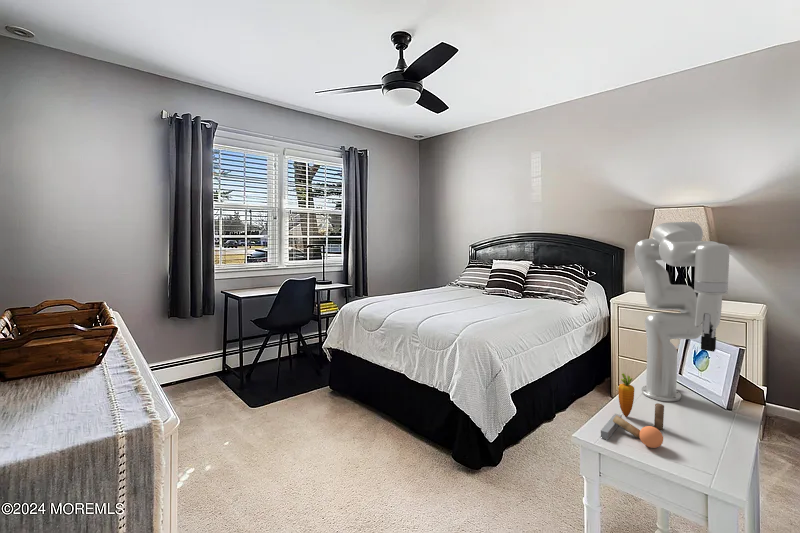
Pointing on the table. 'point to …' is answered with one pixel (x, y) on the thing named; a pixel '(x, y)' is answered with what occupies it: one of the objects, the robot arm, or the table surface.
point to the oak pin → (626, 426)
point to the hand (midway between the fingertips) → (708, 349)
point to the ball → (651, 436)
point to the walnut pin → (659, 416)
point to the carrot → (626, 395)
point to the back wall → (609, 428)
